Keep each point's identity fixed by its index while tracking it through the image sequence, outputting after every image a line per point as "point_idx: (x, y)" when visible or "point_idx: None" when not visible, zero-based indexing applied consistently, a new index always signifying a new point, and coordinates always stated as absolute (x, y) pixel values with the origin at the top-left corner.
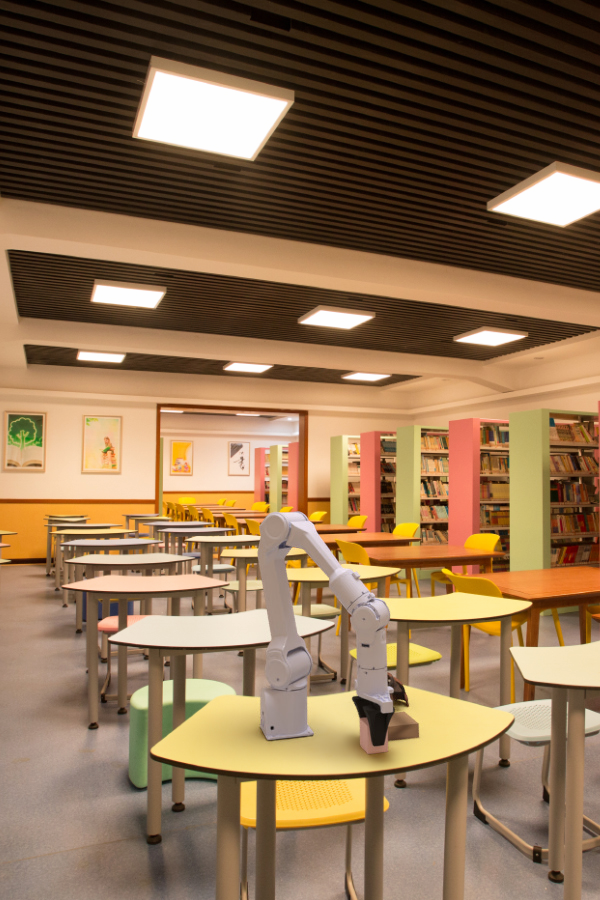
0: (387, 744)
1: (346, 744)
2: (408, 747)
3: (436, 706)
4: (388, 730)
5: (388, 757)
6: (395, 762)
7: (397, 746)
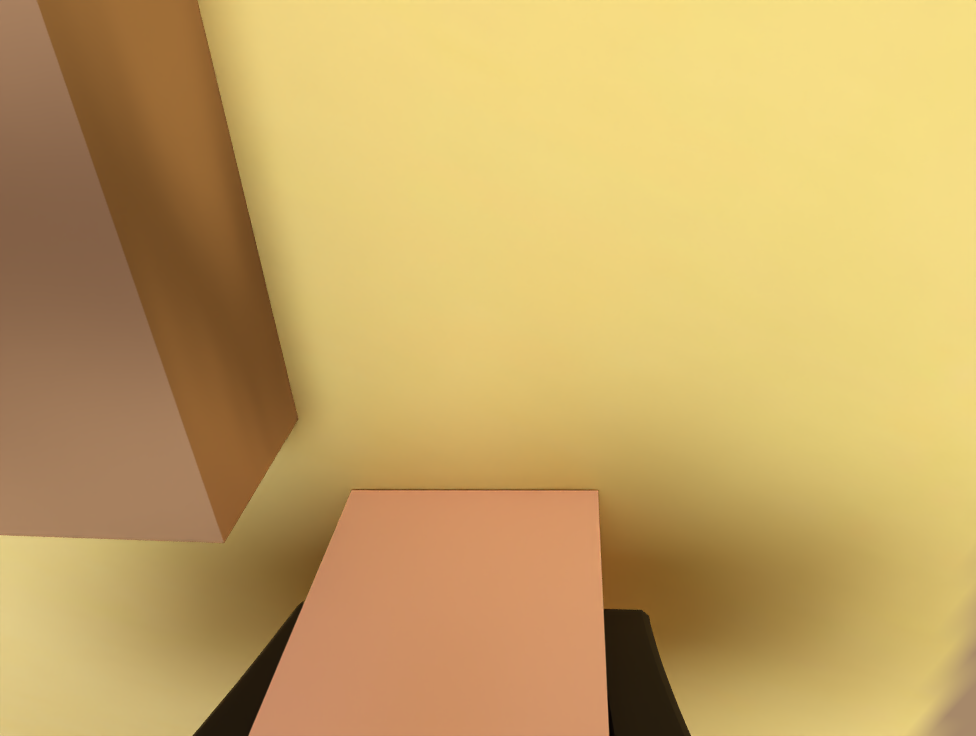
0: (599, 552)
1: None
2: (541, 219)
3: None
4: (235, 461)
5: (750, 535)
6: (909, 519)
7: (475, 345)
